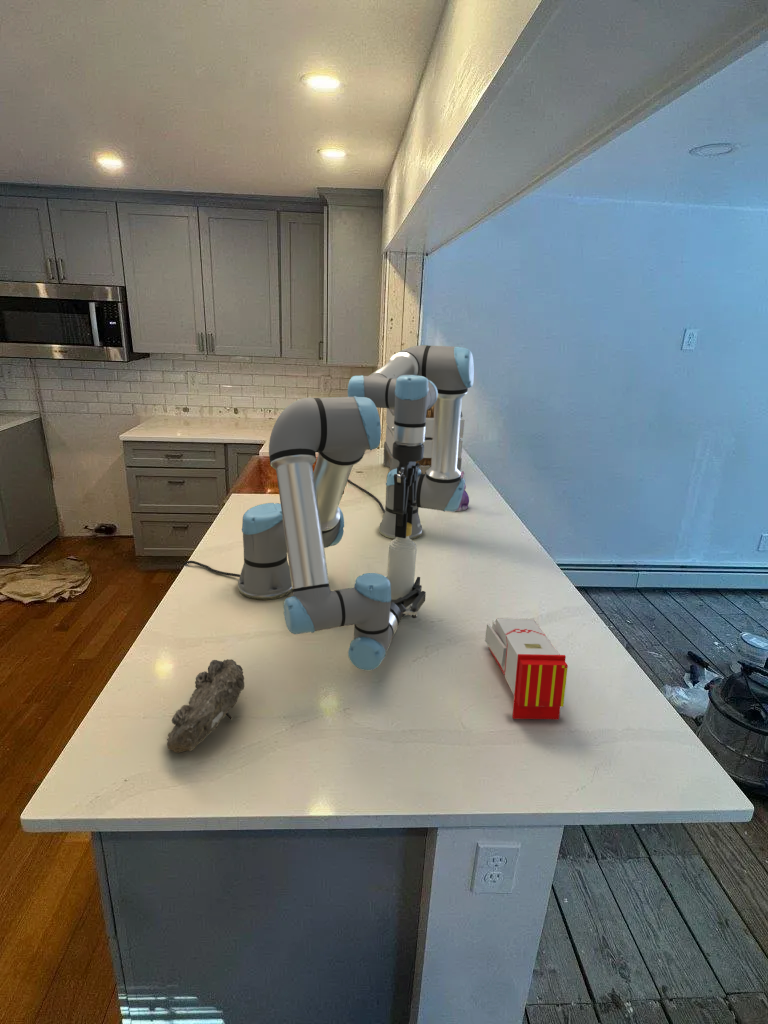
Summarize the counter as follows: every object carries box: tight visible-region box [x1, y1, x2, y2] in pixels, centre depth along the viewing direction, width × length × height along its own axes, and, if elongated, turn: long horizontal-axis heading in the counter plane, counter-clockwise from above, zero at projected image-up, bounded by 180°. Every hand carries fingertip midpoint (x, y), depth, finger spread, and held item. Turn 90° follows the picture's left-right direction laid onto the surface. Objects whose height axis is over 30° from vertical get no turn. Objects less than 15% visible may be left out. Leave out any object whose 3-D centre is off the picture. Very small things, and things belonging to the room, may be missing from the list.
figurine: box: [455, 470, 470, 512], centre depth 226 cm, size 9×10×15 cm
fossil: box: [166, 658, 245, 754], centre depth 106 cm, size 22×10×15 cm
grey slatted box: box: [383, 405, 465, 472], centre depth 268 cm, size 34×33×41 cm
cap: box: [406, 523, 412, 536], centre depth 142 cm, size 4×4×2 cm
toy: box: [484, 617, 569, 720], centre depth 122 cm, size 12×13×30 cm
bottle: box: [386, 536, 418, 617], centre depth 146 cm, size 7×7×23 cm
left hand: (404, 579), depth 152 cm, fingers closed on bottle, 7 cm apart
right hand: (403, 533), depth 143 cm, fingers closed on cap, 4 cm apart
